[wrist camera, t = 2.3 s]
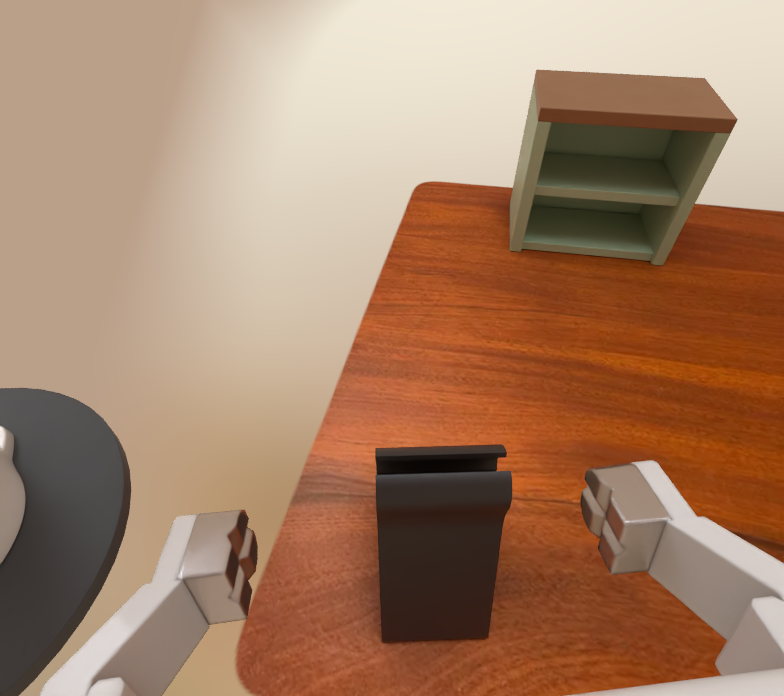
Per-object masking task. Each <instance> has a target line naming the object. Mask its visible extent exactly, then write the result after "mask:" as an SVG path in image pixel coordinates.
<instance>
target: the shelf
mask: <svg viewBox="0 0 784 696" xmlns="http://www.w3.org/2000/svg"><path fill="white" fill-rule="evenodd" d="M736 122H737V118H736V117H735V116H734V114H733V113H732V112H731V111H730V109H729V108H728V107H727V106H726V104H725V103H724V102H723V101H722V99H721V98H720V97H719V96H718V94H717V93H716V92H715V91H714V89H713V88H712V87H711V86H710V85H709V83H708V82H707V81H706V79H705V78H687V77H668V76H649V75H629V74H610V73H609V74H608V73H590V72H571V71H550V70H536V74H535V80H534V84H533V90H532V95H531V100H530V105H529V110H528V115H527V120H526V126H525V130H524V135H523V140H522V145H521V150H520V155H519V161H518V166H517V171H516V176H515V181H514V186H513V191H512V196H511V201H510V251H517V252H521V249H530V250H540V251H551V252H561V253H572V254H582V255H593V256H603V257H614V258H624V259H635V260H645V261H650V262H651V264H652V265H662V266H663V264H664V262H665V260H666V258H667V257H668V255H669V253H670V251H671V249H672V247H673V245H674V243H675V241H676V239H677V237H678V235H679V233H680V231H681V229H682V227H683V225H684V223H685V221H686V220H687V218H688V216H689V214H690V212H691V210H692V208H693V206H694V204H695V202H696V200H697V198H698V196H699V194H700V192H701V190H702V188H703V186H704V184H705V182H706V181H707V179H708V177H709V175H710V173H711V171H712V169H713V167H714V164H715V163H716V161H717V159H718V157H719V155H720V153H721V151H722V149H723V147H724V146H725V144H726V141H727V140H728V137H729V136H730V133H731V131H732V130H733V127H734V126H735V124H736Z"/></svg>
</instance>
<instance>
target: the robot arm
mask: <svg viewBox="0 0 784 696" xmlns="http://www.w3.org/2000/svg"><path fill="white" fill-rule="evenodd" d="M13 451H14V436H13V434H12V433H11V432H10V431H8V430H7V429H5V428H4V427H2V426H0V564H1V563H2V561H3V560H4V558H5V557H6V555H7V554H8V552H9V550H10V549H11V547H12V545H13V543H14V541H15V539H16V536H17V534H18V532H19V529H20V527H21V523H22V520H23V516H24V511H25V502H26V496H25V488H24V484H23V481H22V479H21V477H20V475H19V473H18V472H17V470H16V468H15V466H14V464H13V460H12V458H13ZM585 480H586V482H587V484H588V486H587V487H586V488H585V489H584V490H583V491H582V495H581V508H582V514H583V517H584V520H585V523H586V525H587V527H588V529H589V531H590V532H591V533H593V534H594V535H596V536H597V537H598V538H600V541H599V545H598V549H599V551H600V554H601V556H602V558H603V560H604V562H605V564H606V566H607V568H608V570H609V572H610V574H622V573H633V572H643V571H648V573H649V574H650V575H651V576H652V577H653V578H654V579H656V580H657V581H658V582H659V583H660V584H661V585H663V586H664V587H665V588H666V589H667V590H668V591H670V592H671V593H672V594H673V595H674V596H676V597H677V598H678V599H679V600H680V601H681V602H683V603H684V604H685V605H686V606H687V607H688V608H690V609H691V610H692V611H693V612H694V613H695V614H697V615H698V616H699V617H700V618H701V619H702V620H704V621H705V622H706V623H707V624H708V625H710V626H711V627H712V628H713V629H714V630H715V631H717V632H718V633H719V634H720V635H721V636H722V637H724V638H725V639H726V640H727V642H726V644H725V645H724V647H723V649H722V650H721V652H720V654H719V655H718V657H717V659H716V662H715V665H716V667H717V669H718V671H719V672H720V674H721V676H716V677H708V678H700V679H692V680H684V681H676V682H668V683H660V684H652V685H644V686H636V687H629V688H621V689H613V690H605V691H597V692H589V693H581V694H573V695H565V696H784V563H782V562H780V561H779V560H777V559H775V558H774V557H772V556H770V555H769V554H767V553H765V552H763V551H762V550H760V549H758V548H757V547H755V546H753V545H752V544H750V543H748V542H746V541H745V540H743V539H741V538H740V537H738V536H736V535H735V534H733V533H731V532H730V531H728V530H726V529H724V528H723V527H721V526H719V525H718V524H716V523H714V522H713V521H711V520H709V519H707V518H706V517H697V516H696V514H695V513H694V512H693V510H692V509H691V508H690V506H689V505H688V504H687V502H686V501H685V500H684V498H683V497H682V495H681V494H680V493H679V491H678V490H677V489H676V487H675V486H674V485H673V483H672V482H671V481H670V479H669V478H668V477H667V475H666V474H665V473H664V471H663V470H662V469H661V467H660V466H659V464H658V463H656V462H655V461H653V460H650V461H642V462H633V463H622V464H614V465H607V466H599V467H592V468H589V469H588V470H587V471H586V475H585ZM248 519H249V518H248V516H247V514H246V512H245V510H235V511H225V512H214V513H203V514H194V515H184V516H178V517H177V518H176V519H175V521H174V522H173V523H172V526H171V529H170V532H169V534H168V537H167V540H166V542H165V545H164V548H163V551H162V553H161V556H160V559H159V562H158V564H157V567H156V570H155V572H154V575H153V578H152V581H151V583H148V584H144V585H143V586H142V587H141V588H140V589H139V590H138V591H137V592H136V593H135V594H134V595H133V596H132V597H131V598H130V599H129V600H128V601H127V602H126V603H125V604H124V605H123V606H122V607H121V608H120V609H119V610H118V611H117V612H116V613H115V614H114V615H113V616H112V617H111V618H110V619H109V620H108V621H107V622H106V623H105V624H104V625H103V626H102V627H101V628H100V629H99V630H98V631H97V632H96V633H95V634H94V635H93V636H92V637H91V638H90V639H89V640H88V641H87V642H86V643H85V644H84V645H83V646H82V647H81V648H80V649H79V650H78V651H77V652H76V653H75V654H74V655H73V656H72V657H71V658H70V659H69V660H68V661H67V662H66V663H65V664H64V665H63V666H62V667H61V668H60V669H59V671H57V672H56V673H55V674H54V675H53V676H52V677H51V678H50V679H49V681H47V682H46V684H45V685H44V687H43V689H42V691H41V693H40V695H39V696H162V695H163V694H164V692H165V691H166V689H167V688H168V686H169V685H170V683H171V682H172V681H173V679H174V678H175V676H176V675H177V673H178V672H179V671H180V669H181V668H182V666H183V665H184V663H185V662H186V660H187V659H188V658H189V656H190V655H191V653H192V652H193V650H194V649H195V647H196V646H197V645H198V643H199V642H200V640H201V639H202V638H203V636H204V635H205V633H206V632H207V630H208V629H209V625H211V624H218V623H225V622H231V621H238V620H245V619H247V616H248V611H249V605H250V600H251V594H252V589H251V586H250V584H249V582H248V580H249V579H250V578H251V576H252V575H253V574H254V573H255V571H256V565H257V541H256V537H255V534H254V531H253V530H251V529H250V528H248V527H247V524H248Z"/></svg>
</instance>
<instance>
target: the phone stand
mask: <svg viewBox="0 0 784 696" xmlns="http://www.w3.org/2000/svg"><path fill="white" fill-rule="evenodd" d="M506 454H507V452H506V450H505V448H504V446H503V445H469V446H435V447H401V448H376V465H377V475H376V505H377V522H378V548H379V575H380V602H381V629H382V642H391V641H418V640H444V639H470V638H488V633H489V626H490V618H491V610H492V603H493V595H494V588H495V580H496V572H497V565H498V557H499V550H500V542H501V534H502V527H503V521H504V517H505V515H506V513H507V511H508V510H509V508H510V505H511V500H512V477H511V471H496V470H497V459H498V458H499V457H506Z"/></svg>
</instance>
